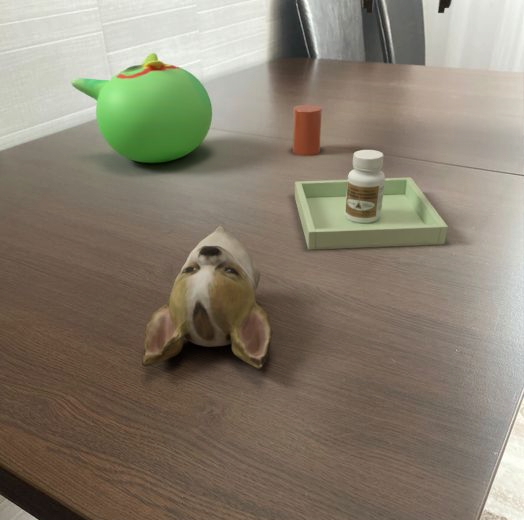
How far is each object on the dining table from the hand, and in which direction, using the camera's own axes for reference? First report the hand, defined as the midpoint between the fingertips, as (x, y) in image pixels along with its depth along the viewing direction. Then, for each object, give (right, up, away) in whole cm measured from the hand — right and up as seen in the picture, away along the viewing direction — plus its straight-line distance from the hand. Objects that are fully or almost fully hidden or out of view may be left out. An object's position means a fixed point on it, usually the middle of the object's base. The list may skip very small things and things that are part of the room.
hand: (405, 8), depth 67 cm
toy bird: (-34, -10, +23) cm, 42 cm away
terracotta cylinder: (-10, -9, +24) cm, 27 cm away
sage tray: (-5, -25, +2) cm, 26 cm away
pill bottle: (-5, -25, +2) cm, 25 cm away
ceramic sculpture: (-21, -40, -16) cm, 48 cm away
